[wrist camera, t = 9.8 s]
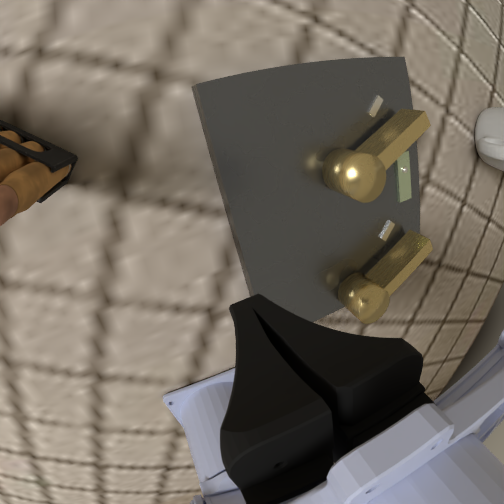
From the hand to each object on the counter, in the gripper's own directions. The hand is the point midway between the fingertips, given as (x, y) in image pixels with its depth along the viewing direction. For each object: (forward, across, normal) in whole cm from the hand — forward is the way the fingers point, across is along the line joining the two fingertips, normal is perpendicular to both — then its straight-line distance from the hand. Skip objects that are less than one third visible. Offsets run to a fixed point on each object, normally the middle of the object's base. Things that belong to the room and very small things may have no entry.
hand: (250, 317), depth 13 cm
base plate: (+9, -10, 0) cm, 14 cm away
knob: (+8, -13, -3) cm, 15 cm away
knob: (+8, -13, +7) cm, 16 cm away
